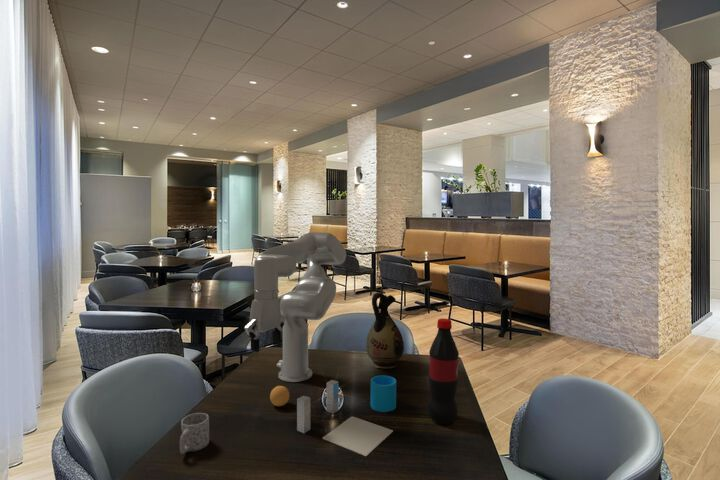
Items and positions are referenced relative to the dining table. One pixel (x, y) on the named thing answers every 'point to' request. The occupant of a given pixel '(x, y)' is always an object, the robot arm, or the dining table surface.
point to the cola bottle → (443, 375)
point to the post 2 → (332, 396)
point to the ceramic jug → (384, 335)
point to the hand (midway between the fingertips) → (266, 346)
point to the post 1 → (303, 414)
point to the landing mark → (358, 435)
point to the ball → (279, 396)
